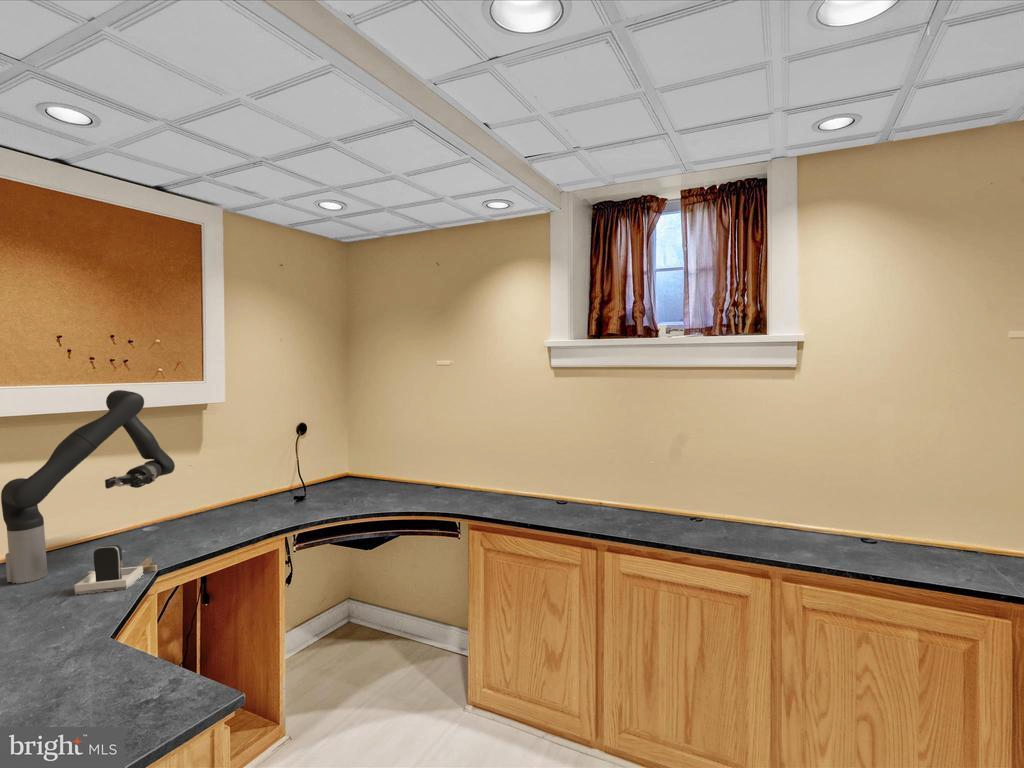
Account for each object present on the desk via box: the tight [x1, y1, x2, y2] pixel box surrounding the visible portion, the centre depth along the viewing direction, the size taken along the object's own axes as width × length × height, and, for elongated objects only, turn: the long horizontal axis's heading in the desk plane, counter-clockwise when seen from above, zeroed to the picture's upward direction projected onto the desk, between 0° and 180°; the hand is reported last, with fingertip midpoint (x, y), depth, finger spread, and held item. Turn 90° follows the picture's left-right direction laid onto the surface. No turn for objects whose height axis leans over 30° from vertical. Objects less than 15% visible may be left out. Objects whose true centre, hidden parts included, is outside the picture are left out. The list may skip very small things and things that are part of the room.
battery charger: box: [93, 544, 123, 582], centre depth 176 cm, size 7×4×11 cm, turn 100°
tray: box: [73, 565, 144, 596], centre depth 176 cm, size 14×12×3 cm
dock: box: [87, 557, 158, 576], centre depth 188 cm, size 20×10×2 cm, turn 102°
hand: (121, 484), depth 194 cm, fingers open, 8 cm apart
